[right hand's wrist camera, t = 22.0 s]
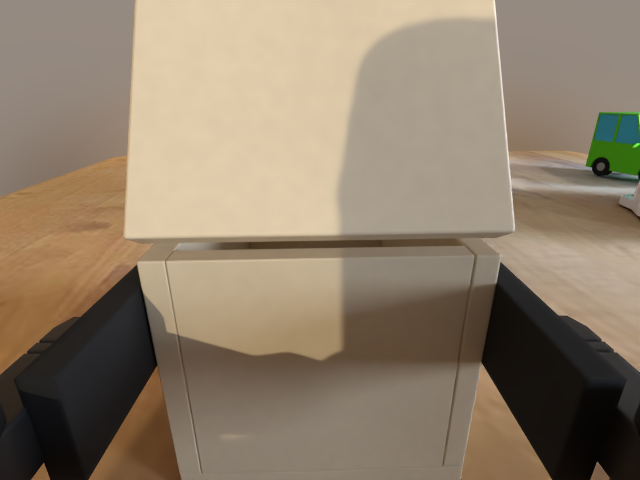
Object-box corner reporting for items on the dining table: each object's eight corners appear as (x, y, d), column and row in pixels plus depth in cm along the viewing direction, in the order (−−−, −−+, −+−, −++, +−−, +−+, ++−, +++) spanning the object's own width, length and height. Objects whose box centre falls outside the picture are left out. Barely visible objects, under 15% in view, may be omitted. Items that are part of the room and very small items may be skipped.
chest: (244, 295, 26) (232, 167, 22) (387, 293, 26) (395, 165, 23) (182, 490, 13) (135, 261, 10) (461, 481, 13) (502, 254, 10)
